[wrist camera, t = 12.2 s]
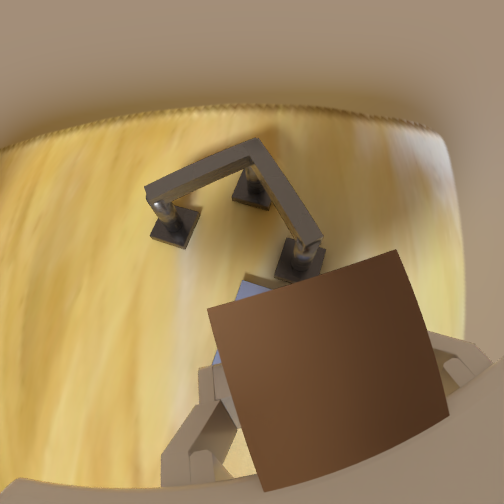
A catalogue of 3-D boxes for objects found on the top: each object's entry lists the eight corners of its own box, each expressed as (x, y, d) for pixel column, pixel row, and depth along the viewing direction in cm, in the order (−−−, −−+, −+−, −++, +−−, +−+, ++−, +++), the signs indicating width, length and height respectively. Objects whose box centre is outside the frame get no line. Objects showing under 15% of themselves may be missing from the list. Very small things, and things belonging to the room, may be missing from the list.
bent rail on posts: (152, 238, 23) (123, 205, 18) (191, 159, 26) (177, 115, 20) (314, 290, 21) (329, 266, 16) (338, 196, 24) (354, 155, 18)
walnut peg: (267, 411, 14) (266, 499, 4) (246, 342, 16) (206, 308, 6) (338, 387, 15) (451, 422, 4) (316, 320, 16) (396, 249, 6)
